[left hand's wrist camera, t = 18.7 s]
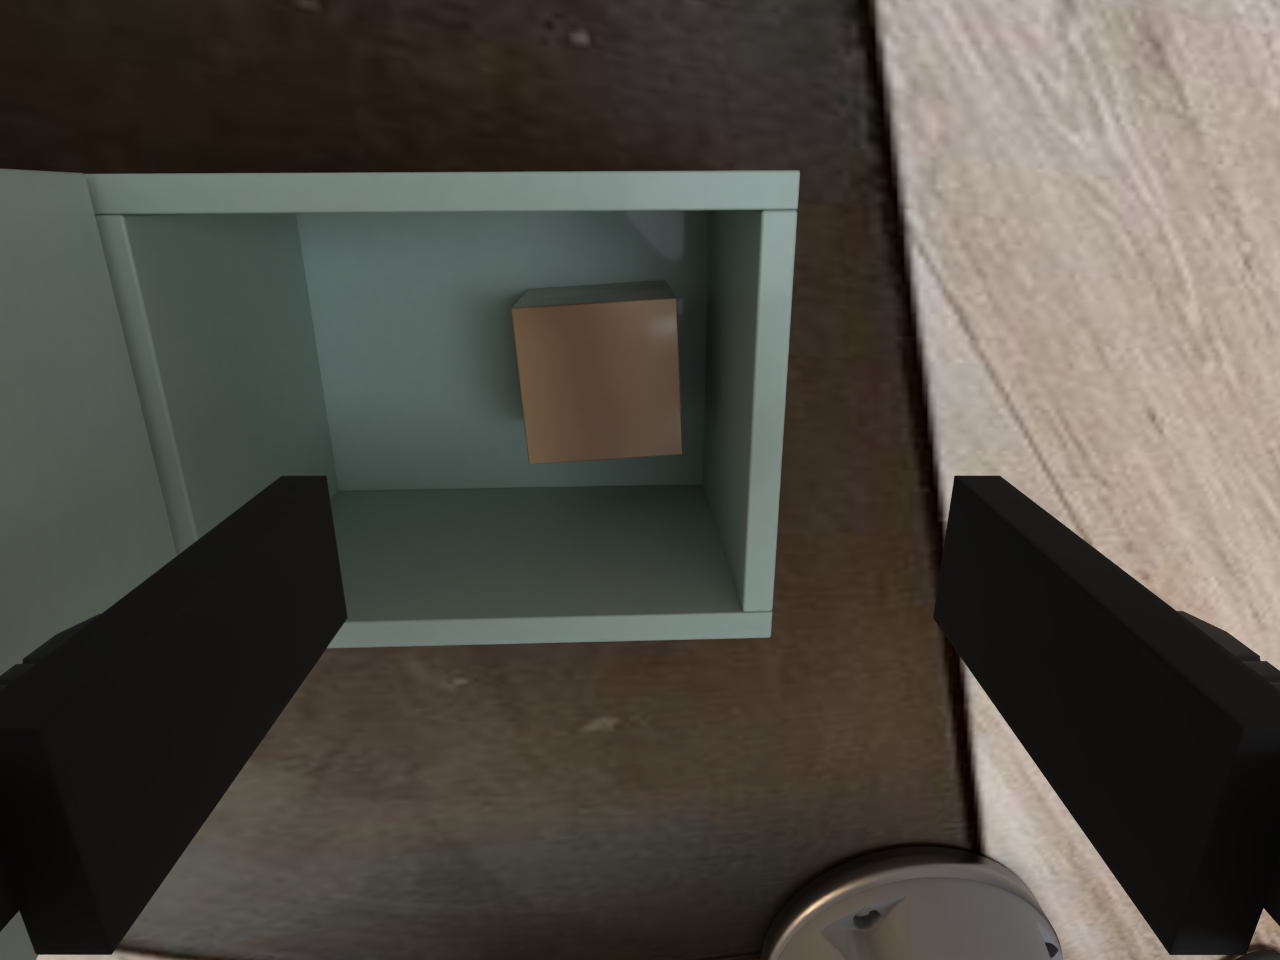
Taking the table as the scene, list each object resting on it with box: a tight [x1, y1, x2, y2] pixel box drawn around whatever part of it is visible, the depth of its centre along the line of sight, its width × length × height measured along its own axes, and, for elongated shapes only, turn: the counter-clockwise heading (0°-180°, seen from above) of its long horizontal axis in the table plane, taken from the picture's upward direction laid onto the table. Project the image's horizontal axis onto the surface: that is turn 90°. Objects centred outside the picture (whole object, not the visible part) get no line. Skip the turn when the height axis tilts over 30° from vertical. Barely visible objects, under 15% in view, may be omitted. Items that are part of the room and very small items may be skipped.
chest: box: [84, 170, 800, 648], centre depth 24 cm, size 16×12×11 cm
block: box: [511, 280, 683, 465], centre depth 26 cm, size 5×5×5 cm
